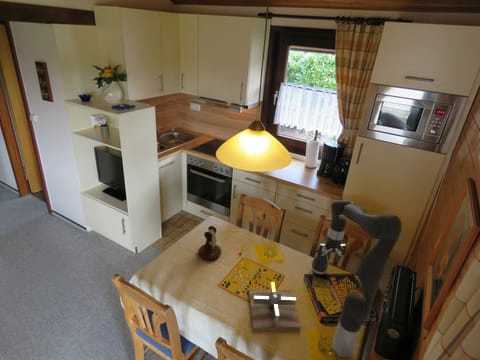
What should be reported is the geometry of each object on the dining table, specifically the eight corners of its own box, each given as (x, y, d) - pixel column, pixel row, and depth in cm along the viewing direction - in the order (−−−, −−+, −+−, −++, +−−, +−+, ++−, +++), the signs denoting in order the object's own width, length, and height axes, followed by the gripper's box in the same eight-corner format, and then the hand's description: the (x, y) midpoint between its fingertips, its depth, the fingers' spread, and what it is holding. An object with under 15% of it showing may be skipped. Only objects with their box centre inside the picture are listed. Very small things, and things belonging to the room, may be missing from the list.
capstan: (297, 326, 154) (299, 315, 150) (254, 324, 153) (255, 313, 149) (290, 292, 173) (292, 281, 170) (251, 290, 172) (253, 280, 169)
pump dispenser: (314, 262, 200) (319, 244, 193) (329, 270, 194) (334, 251, 188) (307, 270, 193) (311, 252, 186) (322, 279, 187) (327, 260, 180)
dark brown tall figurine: (216, 263, 193) (217, 238, 184) (194, 257, 197) (194, 232, 188) (224, 249, 206) (225, 225, 197) (204, 244, 209) (204, 220, 200)
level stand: (300, 330, 154) (300, 327, 153) (252, 330, 152) (253, 327, 151) (290, 292, 176) (290, 290, 175) (248, 292, 174) (249, 290, 173)
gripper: (346, 231, 158) (339, 255, 165) (319, 230, 156) (313, 255, 164) (351, 240, 151) (344, 265, 158) (323, 239, 150) (317, 265, 157)
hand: (329, 260), depth 161 cm, fingers open, 8 cm apart
